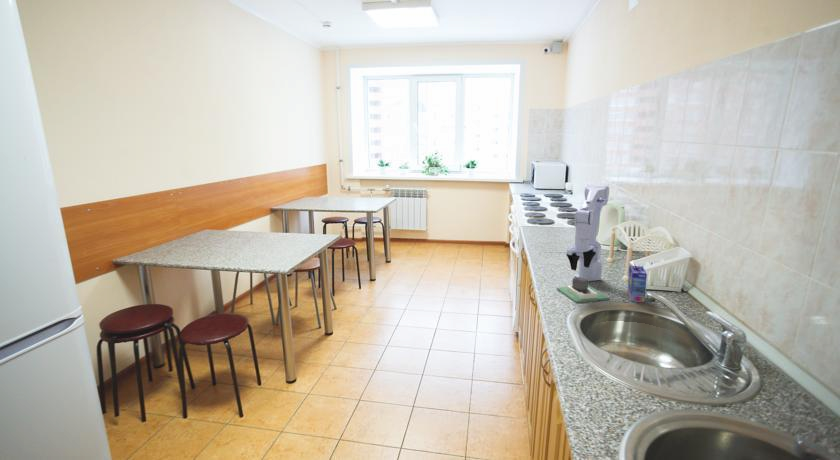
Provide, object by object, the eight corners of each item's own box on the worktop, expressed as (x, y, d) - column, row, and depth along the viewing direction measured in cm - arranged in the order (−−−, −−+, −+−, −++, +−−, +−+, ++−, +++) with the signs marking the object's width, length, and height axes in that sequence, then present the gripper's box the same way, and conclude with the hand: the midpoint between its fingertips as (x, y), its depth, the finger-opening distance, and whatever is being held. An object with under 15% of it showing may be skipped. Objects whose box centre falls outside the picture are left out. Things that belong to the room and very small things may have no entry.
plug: (577, 289, 173) (578, 276, 171) (589, 294, 168) (590, 280, 167) (571, 291, 171) (572, 278, 170) (583, 295, 166) (584, 282, 165)
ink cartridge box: (626, 292, 171) (629, 259, 168) (640, 293, 169) (644, 260, 166) (629, 301, 162) (633, 267, 159) (645, 302, 160) (648, 268, 157)
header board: (587, 286, 178) (588, 281, 178) (609, 299, 164) (610, 293, 163) (556, 289, 176) (557, 283, 175) (576, 302, 161) (576, 296, 161)
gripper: (586, 234, 177) (584, 263, 180) (562, 238, 171) (560, 268, 174) (600, 237, 171) (597, 267, 174) (575, 241, 165) (573, 273, 168)
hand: (580, 268), depth 174 cm, fingers open, 7 cm apart
